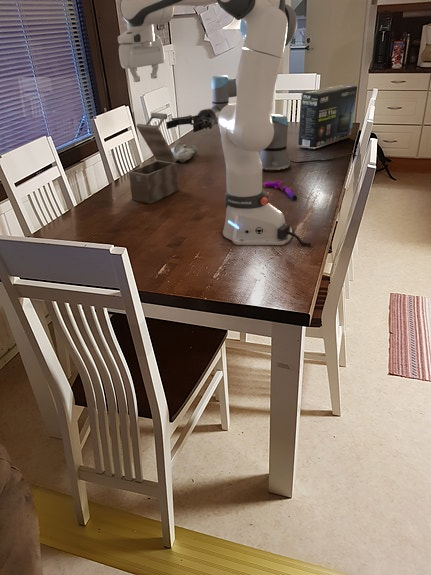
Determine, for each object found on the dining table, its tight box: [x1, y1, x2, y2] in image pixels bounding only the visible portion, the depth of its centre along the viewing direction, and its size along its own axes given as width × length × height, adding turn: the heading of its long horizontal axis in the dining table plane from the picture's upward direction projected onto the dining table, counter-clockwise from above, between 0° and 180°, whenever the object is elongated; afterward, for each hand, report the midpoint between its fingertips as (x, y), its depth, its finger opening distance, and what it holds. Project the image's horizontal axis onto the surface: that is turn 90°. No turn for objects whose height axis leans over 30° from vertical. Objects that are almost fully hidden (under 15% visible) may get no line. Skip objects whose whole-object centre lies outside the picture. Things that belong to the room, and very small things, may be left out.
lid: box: [135, 112, 177, 163], centre depth 178 cm, size 18×10×9 cm
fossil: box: [170, 142, 199, 163], centre depth 229 cm, size 18×11×15 cm
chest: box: [128, 160, 179, 205], centre depth 181 cm, size 17×10×11 cm, turn 147°
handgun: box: [262, 180, 298, 201], centre depth 180 cm, size 21×8×2 cm, turn 11°
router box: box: [297, 84, 358, 151], centre depth 238 cm, size 36×11×27 cm, turn 134°
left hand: (145, 80), depth 164 cm, fingers open, 8 cm apart
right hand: (180, 127), depth 187 cm, fingers open, 13 cm apart
